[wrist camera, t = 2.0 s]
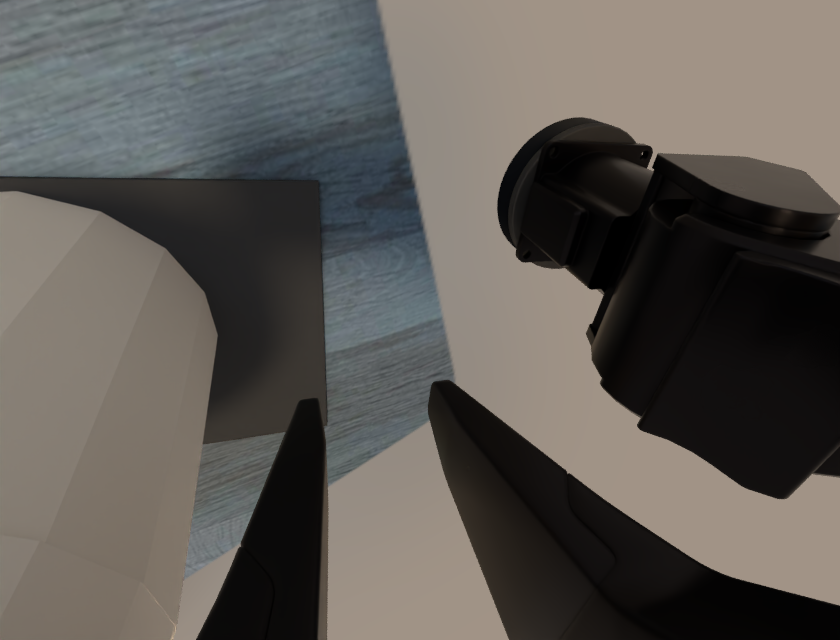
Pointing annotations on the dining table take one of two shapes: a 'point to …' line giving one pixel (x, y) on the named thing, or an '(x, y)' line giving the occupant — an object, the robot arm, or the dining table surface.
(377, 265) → the dining table surface
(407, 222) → the dining table surface
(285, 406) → the plate
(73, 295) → the container
